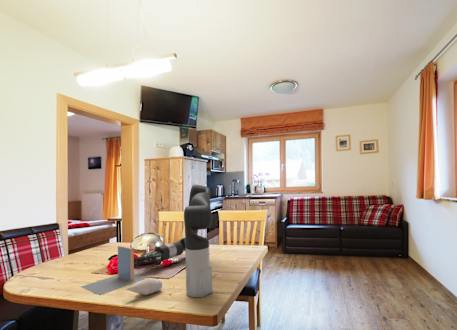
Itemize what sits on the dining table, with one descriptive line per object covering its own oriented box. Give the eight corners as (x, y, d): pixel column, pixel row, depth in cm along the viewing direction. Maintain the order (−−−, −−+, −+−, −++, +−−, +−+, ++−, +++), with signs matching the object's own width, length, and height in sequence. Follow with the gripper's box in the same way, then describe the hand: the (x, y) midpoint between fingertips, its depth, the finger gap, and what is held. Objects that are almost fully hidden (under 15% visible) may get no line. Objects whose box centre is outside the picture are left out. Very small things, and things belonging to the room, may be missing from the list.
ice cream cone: (122, 301, 97) (159, 295, 107) (129, 293, 94) (166, 288, 104) (120, 285, 100) (156, 281, 110) (127, 277, 98) (163, 273, 108)
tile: (133, 280, 117) (133, 247, 118) (130, 281, 116) (130, 248, 117) (121, 276, 123) (121, 245, 124) (117, 277, 122) (117, 246, 123)
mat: (148, 278, 120) (148, 277, 120) (99, 296, 102) (99, 295, 102) (127, 272, 129) (127, 271, 129) (80, 287, 112) (80, 286, 112)
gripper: (157, 243, 143) (128, 250, 129) (174, 246, 135) (145, 254, 121) (157, 257, 142) (128, 266, 128) (174, 261, 134) (145, 271, 120)
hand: (136, 260), depth 125 cm, fingers closed
